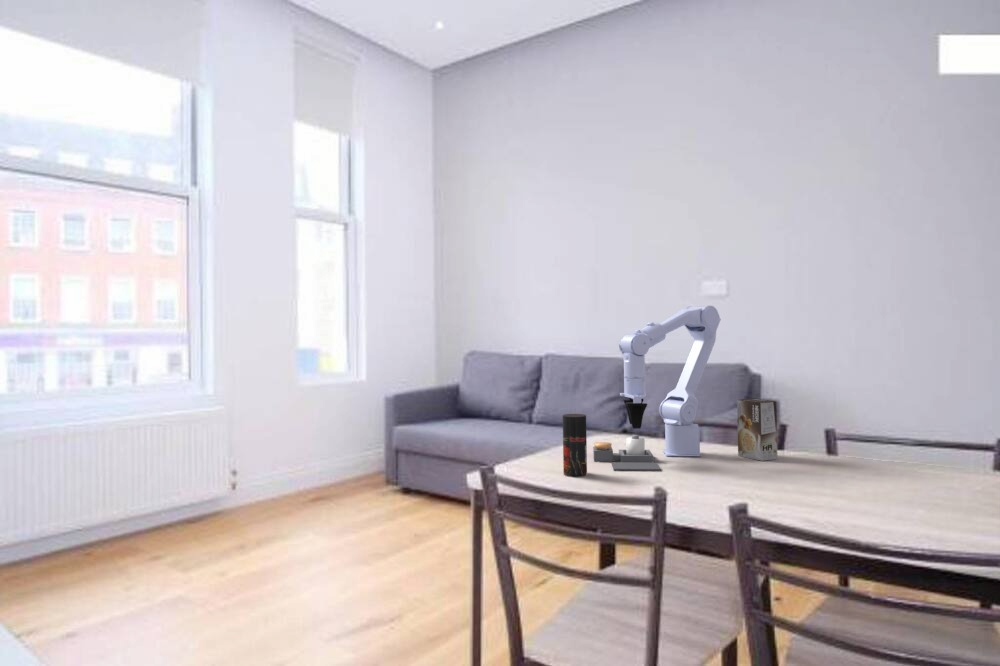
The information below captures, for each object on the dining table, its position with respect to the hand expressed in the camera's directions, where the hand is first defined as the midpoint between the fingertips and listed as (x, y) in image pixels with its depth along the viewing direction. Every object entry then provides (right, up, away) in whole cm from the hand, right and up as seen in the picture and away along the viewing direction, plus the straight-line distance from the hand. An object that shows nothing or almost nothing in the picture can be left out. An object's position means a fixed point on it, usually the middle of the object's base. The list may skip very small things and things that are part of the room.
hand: (635, 426), depth 184 cm
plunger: (-9, -9, +1) cm, 13 cm away
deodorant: (-19, -10, -16) cm, 27 cm away
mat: (-2, -10, -10) cm, 14 cm away
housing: (-4, -9, +1) cm, 10 cm away
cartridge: (0, -9, 0) cm, 9 cm away
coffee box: (+34, -9, +1) cm, 36 cm away
